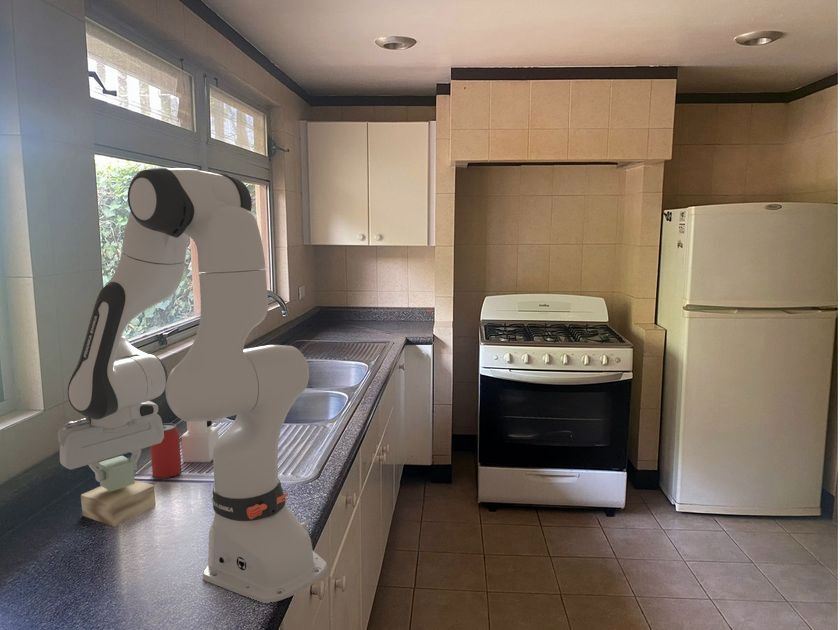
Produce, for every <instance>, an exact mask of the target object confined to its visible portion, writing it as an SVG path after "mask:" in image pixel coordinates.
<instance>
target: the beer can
mask: <svg viewBox="0 0 840 630" xmlns="http://www.w3.org/2000/svg"><path fill="white" fill-rule="evenodd" d="M162 424H163V430H164V438H163V440H162V442H161V443H159V444H156V445H152V446H149V447H150V457H151V458H150V459H151V473H152V476H153V477H154V478H156V479H160V480H161V479H162V478H165V479H169V478H170V477H171V478H174V477H176V476H178V475H179V474H180V473H181V471H182V457H181V456H182V455H181V442H180V433H179V430H178V428H177V424H175V423H172V422H170V423H169V422H165V423H162ZM173 476H174V477H173Z"/></svg>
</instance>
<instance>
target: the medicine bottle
mask: <svg viewBox="0 0 840 630" xmlns="http://www.w3.org/2000/svg"><path fill="white" fill-rule="evenodd" d="M186 429H187V431H186V432H184V433H183V434H182V435H181V436H180V438H181V439H180V440H181V442H180V443H181V454H182V455H181V456H182V457H181V458H182V462H183V463H211V461H212V460H213V450H214V446H215V444H216V442H217V440H218V439H219V438H220V437H219V435H220V434H219V427H218V426H213V421H201V422H186Z"/></svg>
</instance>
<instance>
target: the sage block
mask: <svg viewBox="0 0 840 630" xmlns="http://www.w3.org/2000/svg"><path fill="white" fill-rule="evenodd" d="M99 464H100V466H98V467H97V468H98V469H99V470H103V471H105V472H106V479H105V480H103V481H100V482H99V485H100V486H102V487H104V488H106V489H107V490H109V491H110V492H112V491H114V490H117V489H120V488H123V487H126V486H129V485H132V484H135V470H134V468H133V461H131V460H130V459H129V458H127V457H126V456H124V455H119V456H115V457H112V458H109V459H105V460H102V461H99Z"/></svg>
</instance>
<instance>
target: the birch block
mask: <svg viewBox="0 0 840 630" xmlns="http://www.w3.org/2000/svg"><path fill="white" fill-rule="evenodd" d="M134 480H135V479H134ZM80 502H81V510H82V511H81V513H82V517H84V518H88V519H91V520H94V521H97V522H100V523H103V524H105V525H109V526H112V527H117V526H119V525H121V524H123V523H124V522H126V521H129V520H130V519H132V518H135V517H136V516H137V517H138V516H139V515H140V514H142V513H144V512H146V511H148V510H150V509H152V508H154V507H156V495H155V485H154V484H151V483H146V482H143V481H139V480H135V484H132V485H129V486H126V487H123V488H120V489H117V490H114V491H112V492H110V491H109V490H107V489H106V488H104V487H102V486H101V485H100V486H97V487H95V488H93V489H91V490H89V491H86V492H84V493H81V494H80Z"/></svg>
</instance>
